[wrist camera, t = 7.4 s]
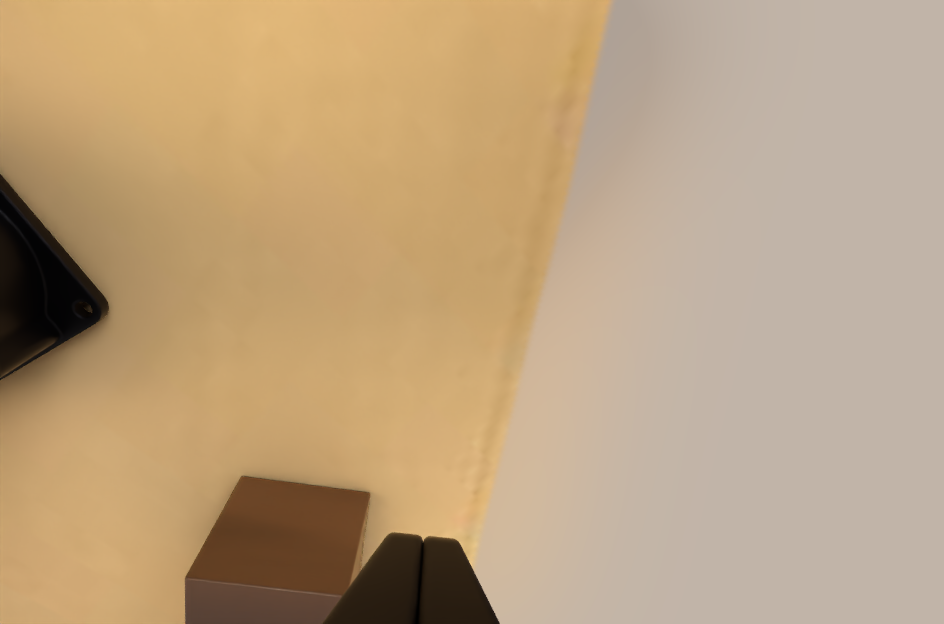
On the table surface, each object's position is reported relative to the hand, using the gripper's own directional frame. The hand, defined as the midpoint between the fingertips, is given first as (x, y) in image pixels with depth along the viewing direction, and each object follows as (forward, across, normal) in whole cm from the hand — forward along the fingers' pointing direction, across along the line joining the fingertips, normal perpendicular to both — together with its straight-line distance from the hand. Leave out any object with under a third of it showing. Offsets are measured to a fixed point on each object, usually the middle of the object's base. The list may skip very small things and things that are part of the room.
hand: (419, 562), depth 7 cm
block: (+11, +4, +10) cm, 16 cm away
